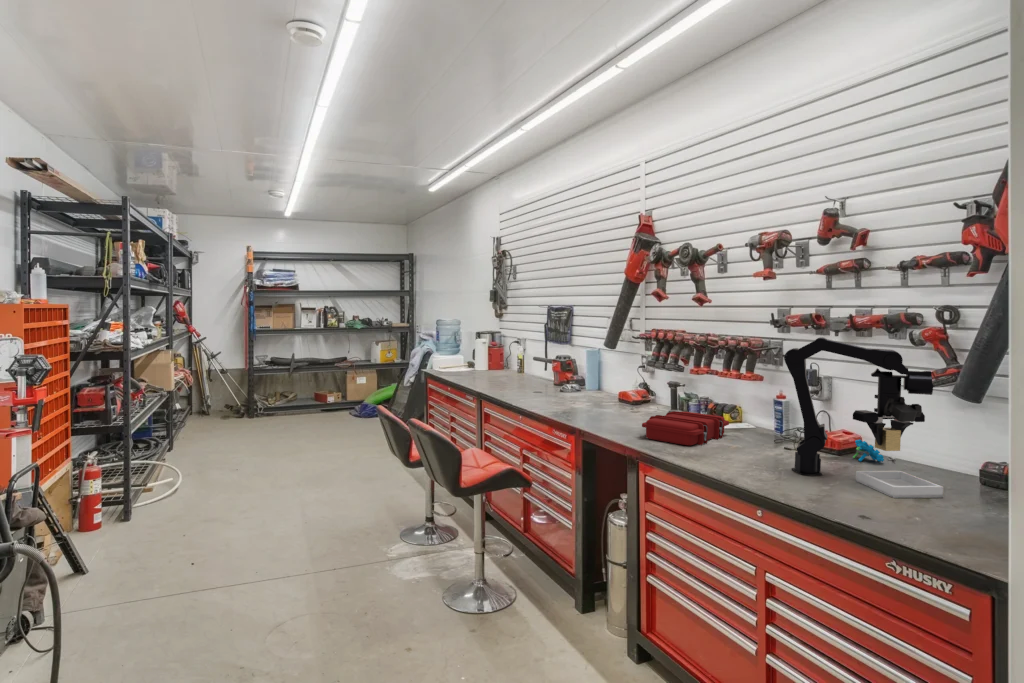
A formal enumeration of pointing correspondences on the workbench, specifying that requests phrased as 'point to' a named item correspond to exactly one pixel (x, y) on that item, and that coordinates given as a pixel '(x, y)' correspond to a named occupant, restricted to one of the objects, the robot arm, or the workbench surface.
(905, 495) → the parts tray
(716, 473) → the workbench surface
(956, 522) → the workbench surface
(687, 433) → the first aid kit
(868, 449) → the blue plastic figure
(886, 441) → the brass block
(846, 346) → the robot arm
